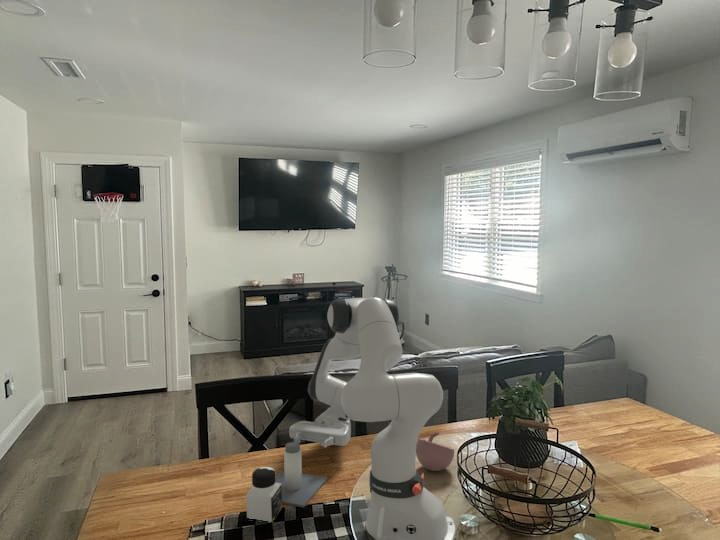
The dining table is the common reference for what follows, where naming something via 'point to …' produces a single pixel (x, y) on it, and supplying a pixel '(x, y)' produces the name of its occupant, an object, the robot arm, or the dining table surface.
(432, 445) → the mortar and pestle
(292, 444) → the white pill bottle
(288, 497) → the slate mat
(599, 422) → the dining table surface
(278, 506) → the medicine bottle
